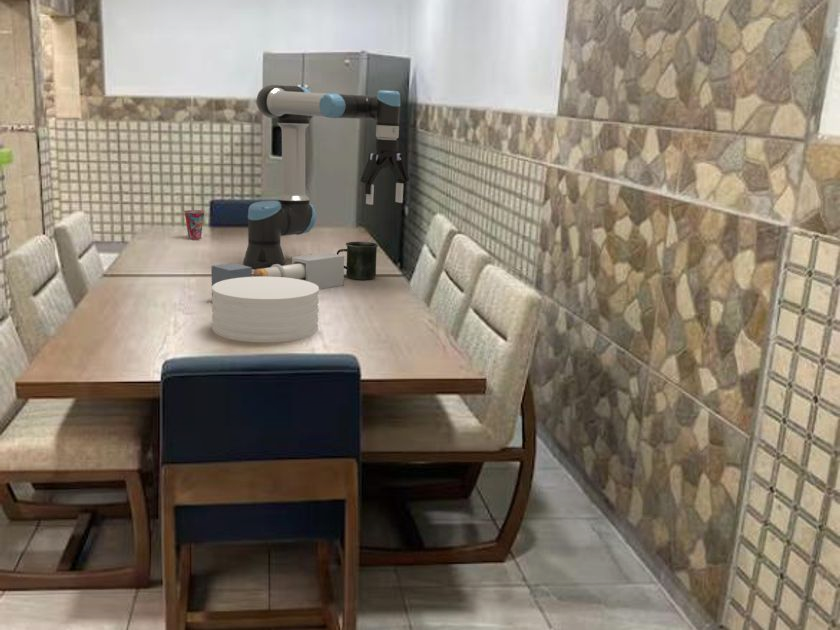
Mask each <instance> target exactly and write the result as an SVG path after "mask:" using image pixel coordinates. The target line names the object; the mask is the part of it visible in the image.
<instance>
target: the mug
mask: <svg viewBox="0 0 840 630" xmlns="http://www.w3.org/2000/svg"><path fill="white" fill-rule="evenodd" d="M345 246H346V248H341V249H338V250H337V251H336V254H337V255H340V253H341V252H346V265H344V270H345V271H346V273H345V275H346V277H347V278H348V279H351V280H361V281H367V280H368V281H369V280H373V279H375V278H376V276H377V248H378V246H379V244H377V243H375V242H371V241H348V242H346V243H345Z"/></svg>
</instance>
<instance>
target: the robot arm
mask: <svg viewBox="0 0 840 630" xmlns="http://www.w3.org/2000/svg"><path fill="white" fill-rule="evenodd" d="M256 106H257V109H258V111H259V112H260V113H261V114H262V115H263V116H265V117H267V118H270V119H277V125H278V126H279V127H280V129H281V181H282V182H281V187H282V188H281V191H282V192H281V195H280V196H279V197H278V201H277V200H262V201H261V200H260V201H256V202H254V203H251V204H250V205H249V207H248V210H247V211H248V213H247V225H248V229H247V230H248V231H247V236H248V237H247V241H248V242H247V248H246V251H245V255H244V257H243V263H242V265H244V266H248V267H252V269H255V270H256V269H262V268H270V267H271V266H272V265H274V264H279V265H281V266H285V265H286V259H285V257H284V252H283V249H282V245H281V237H283V236H293V235H295V236H296V235H297V236H298V235H303V234H307V233H309V232H310V231H311V230H312V229H313V228H314V226H315V224H316V221H317V213H316V209H315V207H314V205H313V204H311V202H310V200H311V199H310V197H308V196H307V195H306V129H307V128H308V126H310V120H311V119H312V118H314V117H322V118H329V119H356V120H357V119H358V120H359V119H360V120H361V119H362V120H376V122H375V123H376V124H375V126H376V128H375V137H376V139H375V147H374V149H375V151H376V153H369V154H368V159H367V162H366V164H365V167H364V170H363V172H362V174H361V178H360V181H359V182H360V183H362V184H363V185H365V187H364V194H365V196H366V197H365V198H366V199H365V204H367V205H370V206H372V205H374V194H375V191H374V190H375V189H374V187H375V184H373V183H374V181H375V179H376V178H377V177H378V175H379V173H380V172H381V170H383V169H385V168H386V169H387V168H389V169H390V170H391V172H392V173H393V175H394V177H395V179H396V180H397V182H396V183H395V202H396V203H400V204H403V201H404V197H403V196H404V192H405V184H407V183H408V182H409V181H410V177H409V174H408V170H407V168H406V167H407V166H406V163H405V159H404V158H405V157H404V154H403V153H399V152H398V151H399V140H398V138H400V137H399V134H400V132H399V131H400V114H401V113H400V112H401V93H400V92H399V91H397V90H387V89H386V90H385V89H384V90H381V89H380V90H378V91H377V95H376V96H374V95H364V94H363V95H362V94H360V95H357V94H343V93H331V92H330V93H328V92H327V93H325V92H324V93H323V92H312V91H311V90H310V89H309V88H306V87H302V86H299V85H298V86H297V85H295V86H294V85H279V84H278V85H277V84H272V85H266V86H264V87H262V88H261V89H260V90H259V91H258V94H257V96H256ZM397 152H398V153H397Z"/></svg>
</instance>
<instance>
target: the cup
mask: <svg viewBox="0 0 840 630" xmlns="http://www.w3.org/2000/svg"><path fill="white" fill-rule="evenodd" d="M183 212H184V215H185V223H186V224H185V225H186V229H187V236H188V237H187V238H188V240H189V239H190V241H191V240H192V241H199V240H198V239H202V233H203V223H204V218H205V217H204V216H205V213H206V212H205V210H200V209H189V210H184V211H183Z"/></svg>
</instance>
